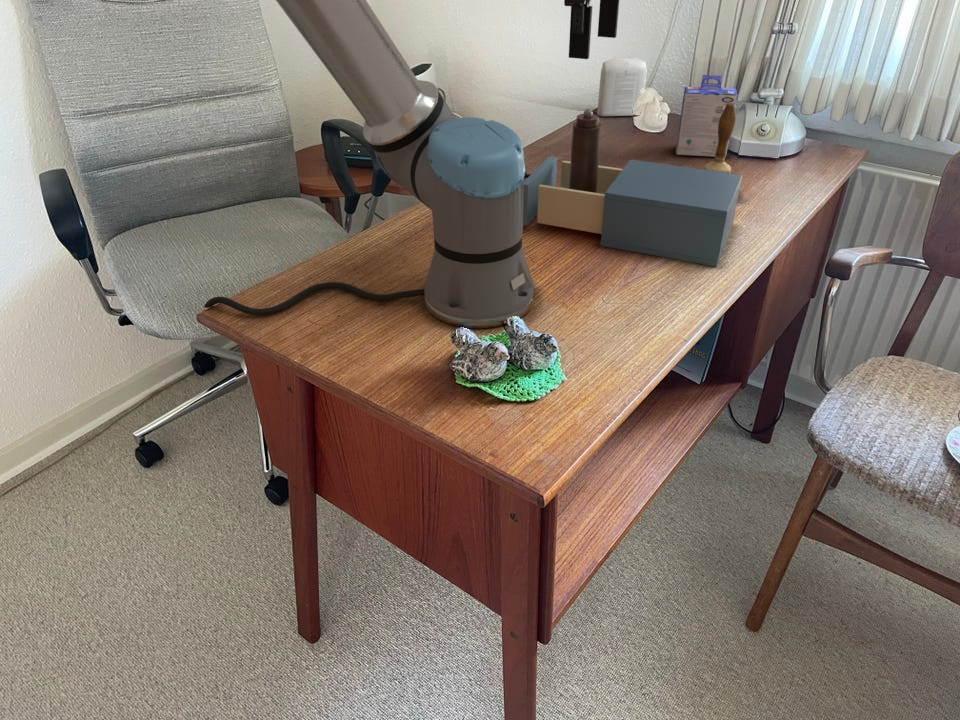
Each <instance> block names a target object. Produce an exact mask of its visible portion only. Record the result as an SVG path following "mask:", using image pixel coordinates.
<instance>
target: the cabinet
mask: <svg viewBox="0 0 960 720" xmlns="http://www.w3.org/2000/svg"><path fill="white" fill-rule="evenodd" d="M622 169H623V170H622V172H621V173H620V174H619V175H618V177H617V178H616V179H615V181H614V182H613V183H612V184H611V186H610V187H609V188H608V190H607V191H606V192H605V199H604V210H603V222H602V233H601V234H600V244H599V245H600V246H601V247H604V248H605V247H606V248H611V249H616V250H621V251H628V252H633V253H639V254H645V255H649V256H656V257H661V258H666V259H672V260H677V261H678V260H679V261H683V262H689V263H695V264H699V265H706V266H710V267H717V266H718V264H719V262H720V259H721V256H722V253H723V251H724V249H725V246H726V244H727V241H728V238H729V236H730V233H731V231H732V228H733V224H734V220H735V215H736V211H737V204H738V201H739V200H738V199H739V196H740V190H741V186H742V180H743V174H740V173H732V172H731V173H726V172H718V171H711V170H704V168H703V169H702V168H696V167H688V166H680V165H674V164H673V165H672V164H666V163H659V162H652V161H646V160H645V161H644V160H636V159H629V161H628V162H627V164H626V165H625V166H624V168H622Z"/></svg>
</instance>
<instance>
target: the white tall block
mask: <svg viewBox="0 0 960 720" xmlns="http://www.w3.org/2000/svg"><path fill="white" fill-rule="evenodd" d="M646 81H647V62H646V61H645V60H643V59H640V58H637V57H629V56H623V57H614V58H611V59H608V60H604V61H602V65H601V70H600V78H599V90H598V100H597V110H596V115H598V116H599V117H628V116H629V117H630V116H631V117H633V113H632V110H633V105H634V104H635V102H636V100H637V98H638V96H639V93H640V90H641V89H642V88H646Z"/></svg>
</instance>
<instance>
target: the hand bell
mask: <svg viewBox="0 0 960 720" xmlns="http://www.w3.org/2000/svg"><path fill="white" fill-rule="evenodd" d="M736 115H737V114H736V105H735V104H733V103H727V105H726V107H725V109H724V111H723V113H722V115H721V117H720V120H719V125H718V138H719V141H718V146H717V150H716V154H715V157H713V161H709V162H707V163H706V164H704V167H703V169H704V170H711V171H718V172H726V173H732V167H731V166H730V164H728V163H726V162H725V158H726V157H727V154H725V153H726V149H727V150H728V148H727V144H728V145H729V143H728V141H729V142H730V138H731V136H732V135H733V132H734V129H735V125H736V120H737V119H736V118H737V117H736ZM725 156H726V157H725Z"/></svg>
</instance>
